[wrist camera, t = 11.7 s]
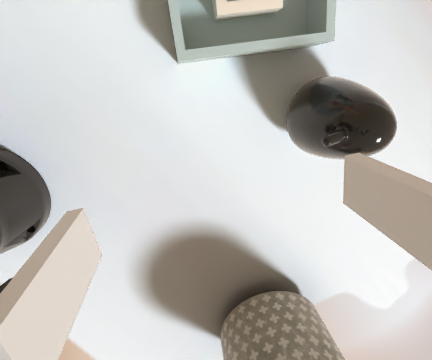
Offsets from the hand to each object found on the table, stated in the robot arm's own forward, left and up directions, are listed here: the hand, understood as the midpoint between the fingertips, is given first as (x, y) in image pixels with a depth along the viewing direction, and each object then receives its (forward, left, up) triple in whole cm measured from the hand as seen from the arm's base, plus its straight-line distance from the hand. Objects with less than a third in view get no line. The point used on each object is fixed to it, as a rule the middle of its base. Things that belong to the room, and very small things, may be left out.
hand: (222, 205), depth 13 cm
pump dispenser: (+17, -1, -26) cm, 31 cm away
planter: (+8, -40, -26) cm, 49 cm away
